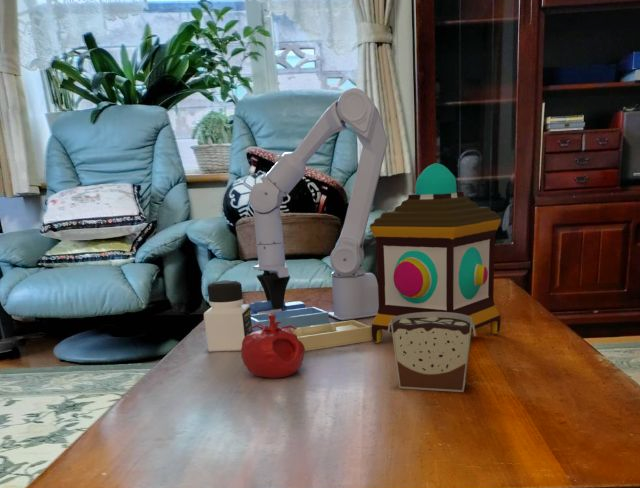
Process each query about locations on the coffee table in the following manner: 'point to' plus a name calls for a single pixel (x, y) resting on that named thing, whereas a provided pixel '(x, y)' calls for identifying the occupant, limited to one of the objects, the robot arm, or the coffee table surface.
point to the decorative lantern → (436, 254)
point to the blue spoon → (267, 306)
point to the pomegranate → (272, 351)
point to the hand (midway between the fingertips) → (276, 307)
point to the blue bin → (292, 318)
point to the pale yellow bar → (320, 329)
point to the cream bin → (337, 336)
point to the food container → (432, 350)
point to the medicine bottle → (226, 316)
